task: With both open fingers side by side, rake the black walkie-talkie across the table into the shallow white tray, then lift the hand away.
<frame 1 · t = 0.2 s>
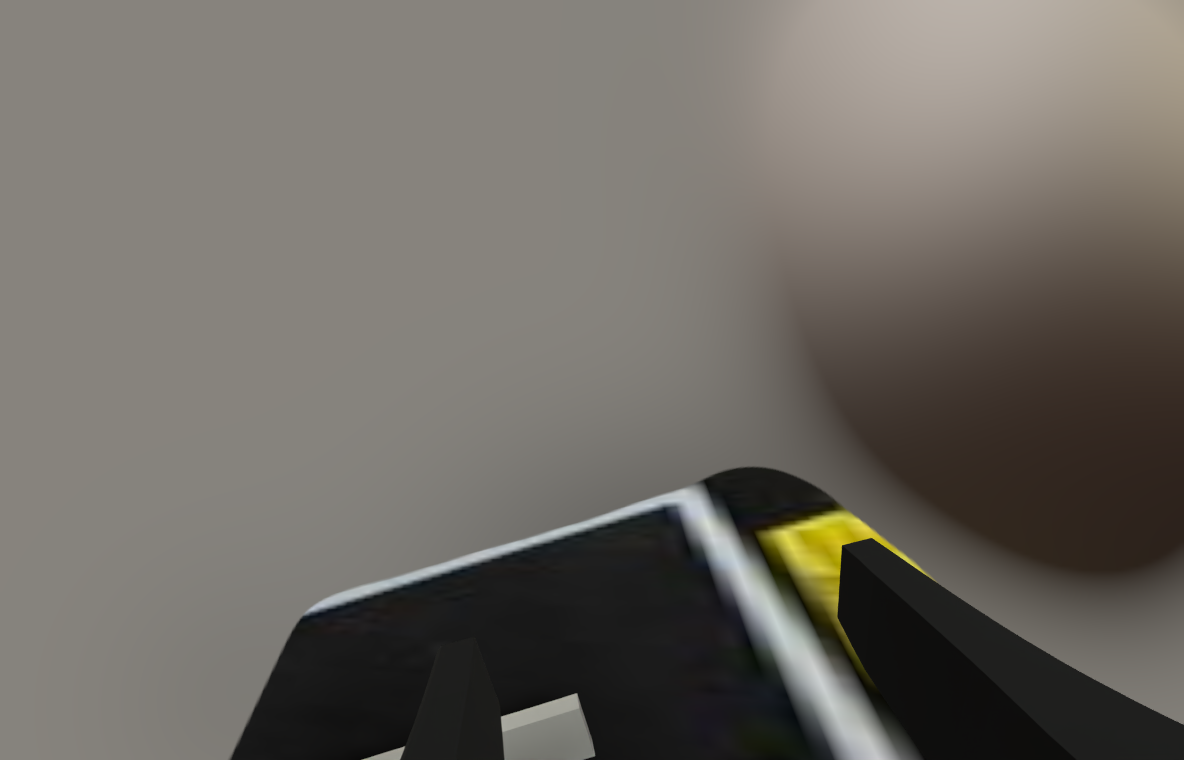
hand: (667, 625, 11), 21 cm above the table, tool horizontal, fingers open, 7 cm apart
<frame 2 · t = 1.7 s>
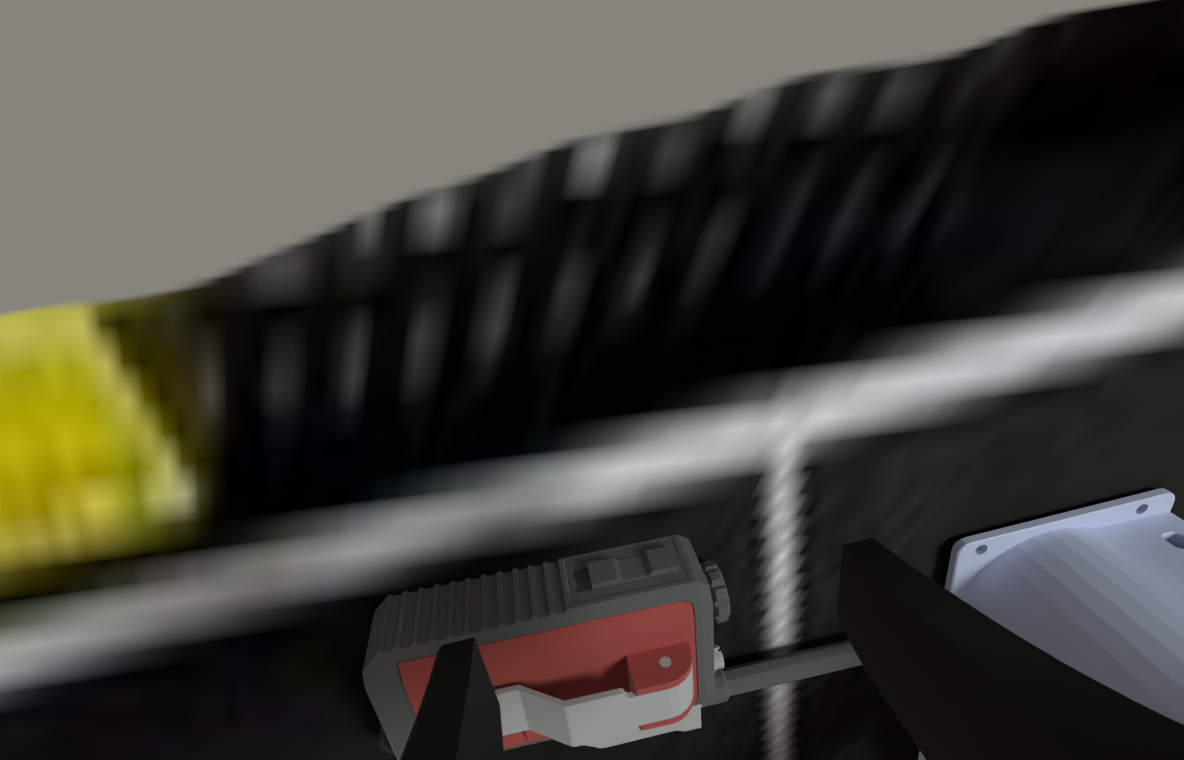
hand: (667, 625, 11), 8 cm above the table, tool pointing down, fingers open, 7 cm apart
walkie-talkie: (628, 614, 24), on the table
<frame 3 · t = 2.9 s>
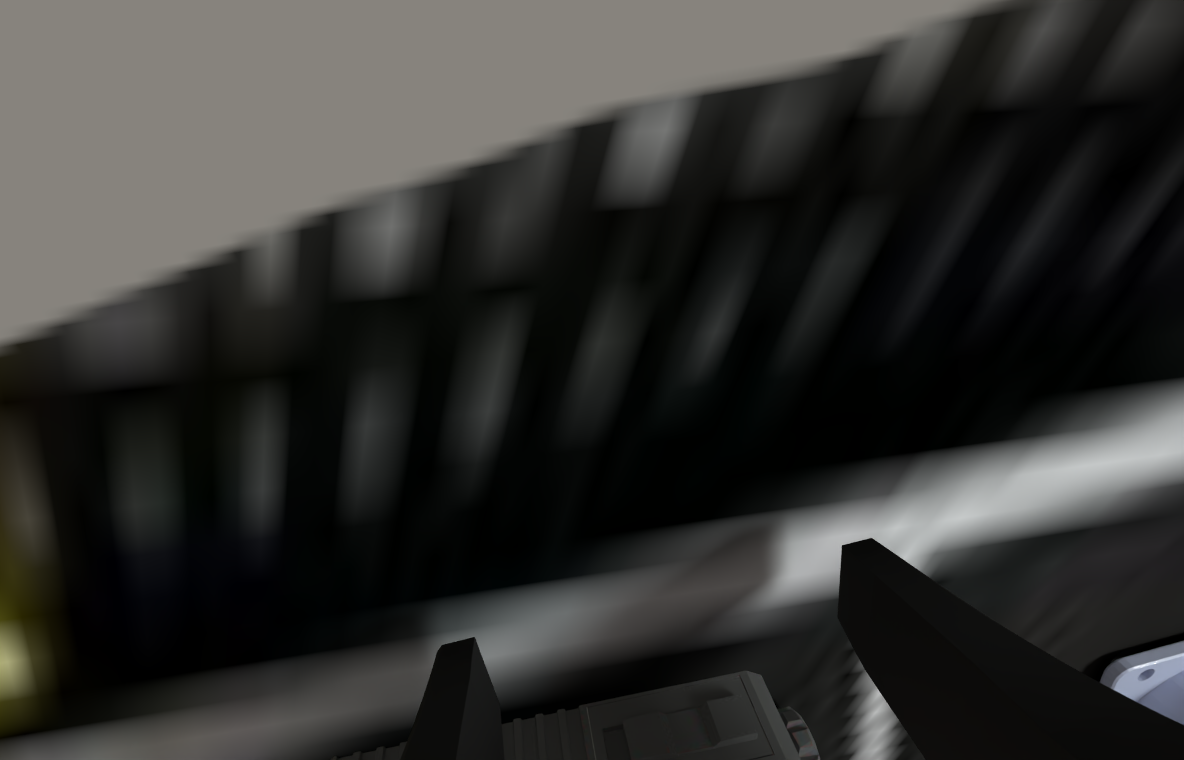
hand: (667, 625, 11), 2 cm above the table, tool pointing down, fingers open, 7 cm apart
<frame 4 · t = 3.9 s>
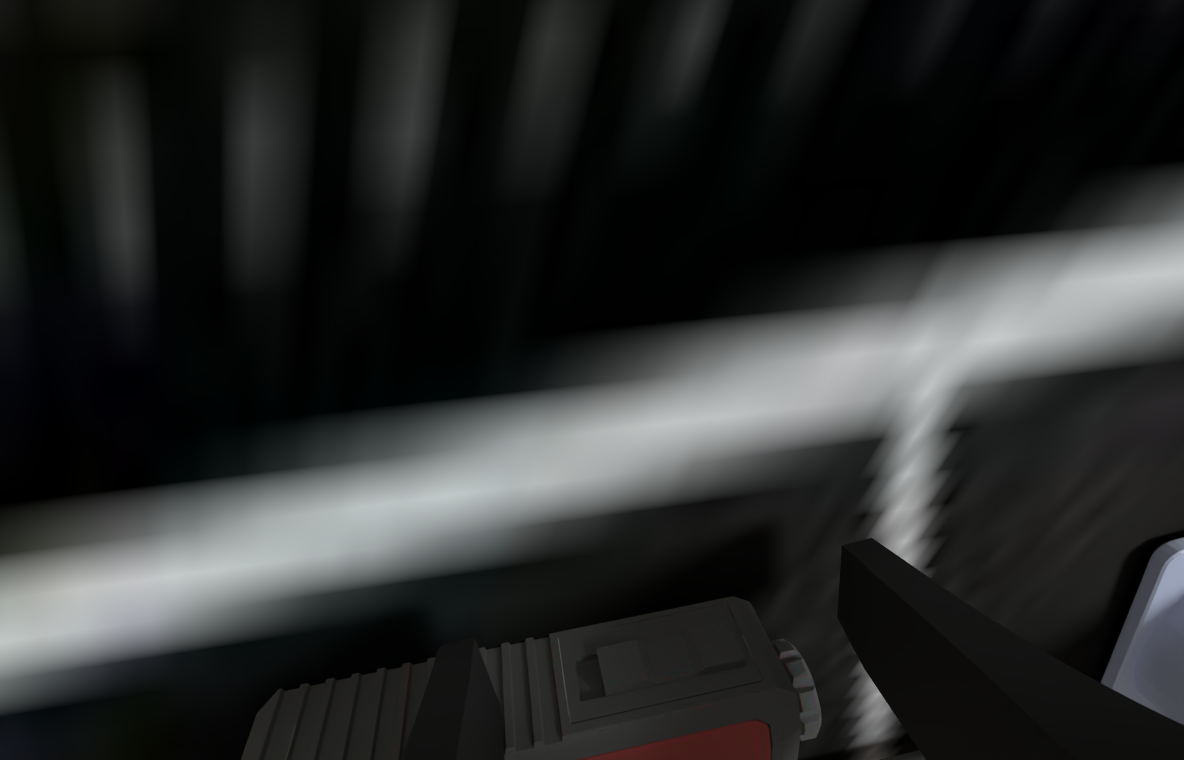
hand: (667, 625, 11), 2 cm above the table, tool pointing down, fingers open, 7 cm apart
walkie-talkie: (651, 706, 16), on the table, touching gripper
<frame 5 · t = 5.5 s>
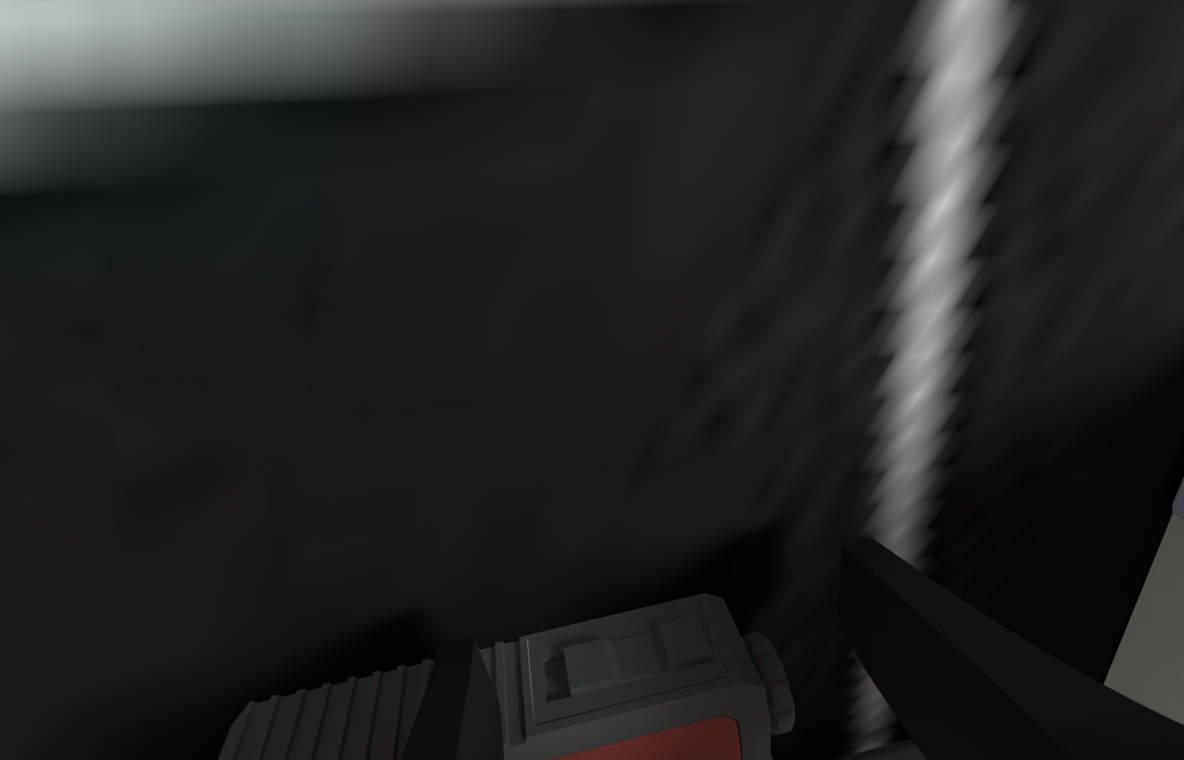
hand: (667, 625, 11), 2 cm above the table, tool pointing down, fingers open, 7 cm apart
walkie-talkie: (633, 703, 16), on the table
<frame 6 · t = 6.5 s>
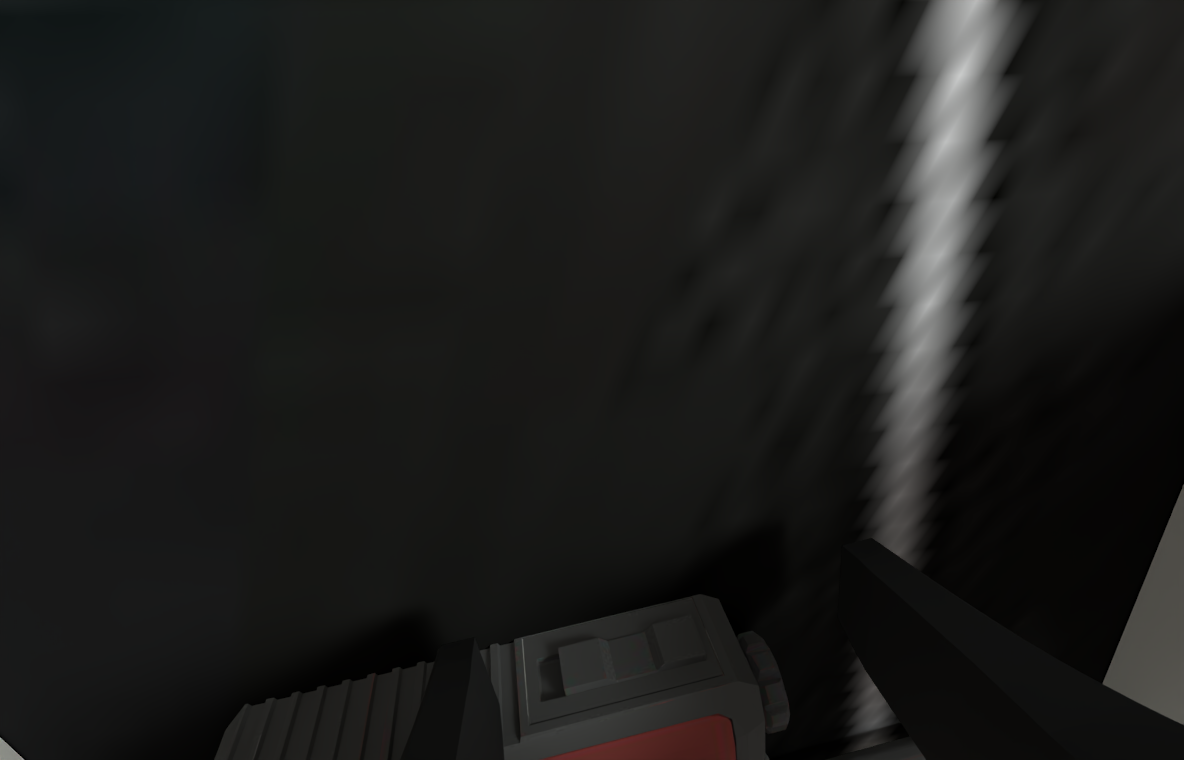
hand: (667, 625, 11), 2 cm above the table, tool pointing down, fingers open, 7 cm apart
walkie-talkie: (629, 702, 16), on the table
shallow white tray: (673, 740, 16), on the table
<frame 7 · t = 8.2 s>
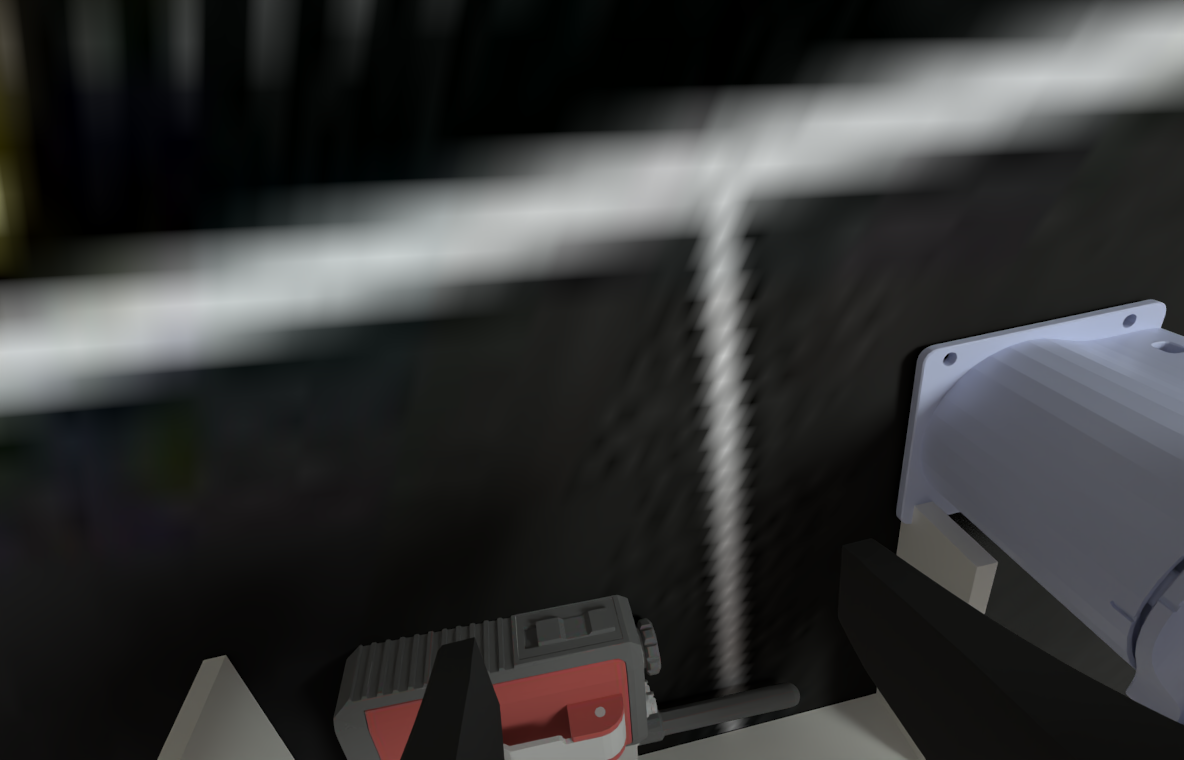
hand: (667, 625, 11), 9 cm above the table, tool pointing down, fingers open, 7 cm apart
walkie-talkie: (576, 660, 26), on the table
shallow white tray: (605, 684, 26), on the table
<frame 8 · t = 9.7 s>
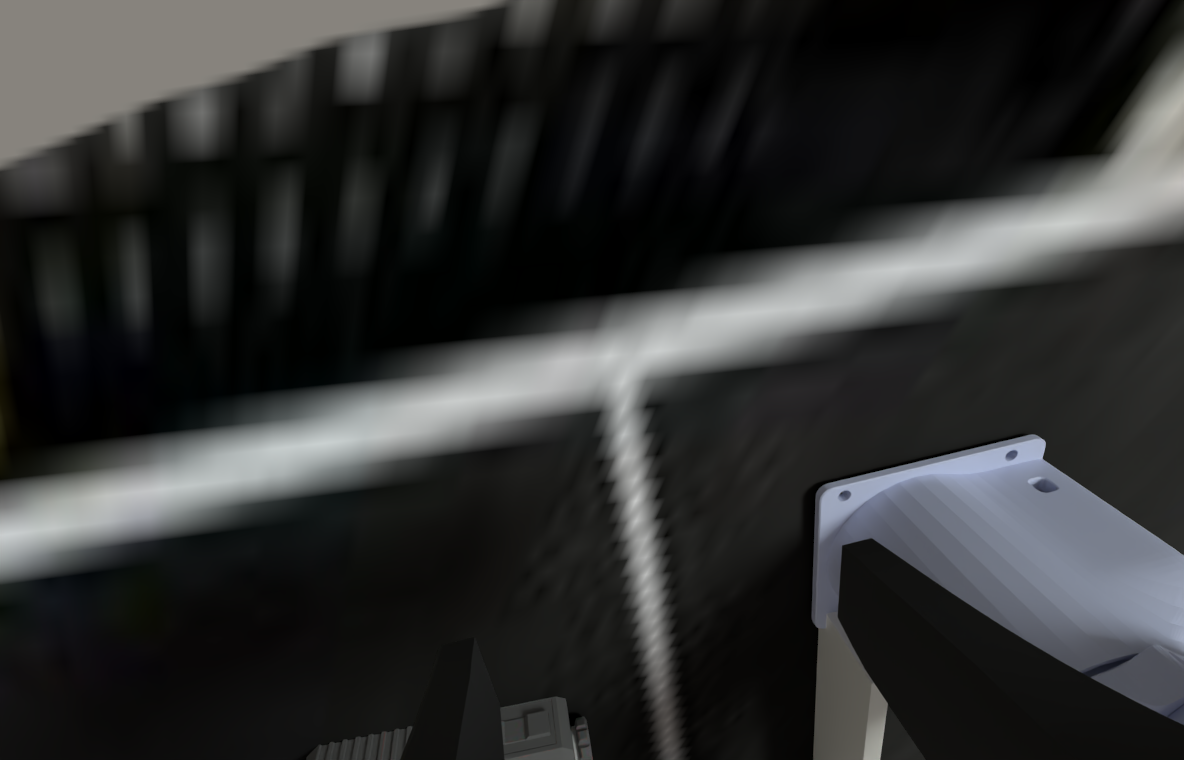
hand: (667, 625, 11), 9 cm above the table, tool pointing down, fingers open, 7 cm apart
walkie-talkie: (522, 748, 29), on the table
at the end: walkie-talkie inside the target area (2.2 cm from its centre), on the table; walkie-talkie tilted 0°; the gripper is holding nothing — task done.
